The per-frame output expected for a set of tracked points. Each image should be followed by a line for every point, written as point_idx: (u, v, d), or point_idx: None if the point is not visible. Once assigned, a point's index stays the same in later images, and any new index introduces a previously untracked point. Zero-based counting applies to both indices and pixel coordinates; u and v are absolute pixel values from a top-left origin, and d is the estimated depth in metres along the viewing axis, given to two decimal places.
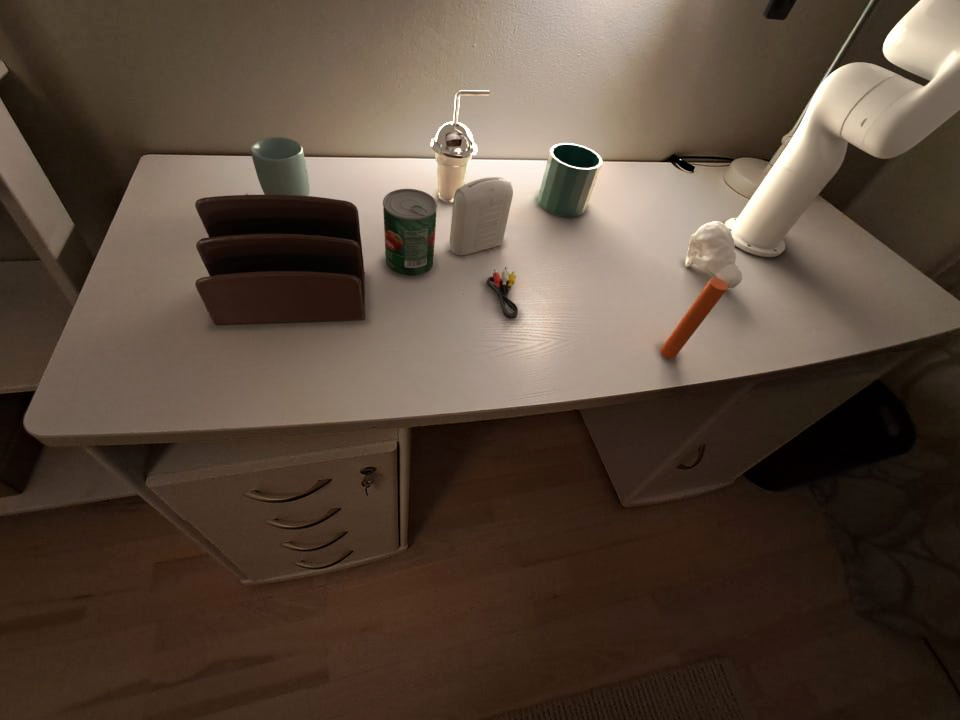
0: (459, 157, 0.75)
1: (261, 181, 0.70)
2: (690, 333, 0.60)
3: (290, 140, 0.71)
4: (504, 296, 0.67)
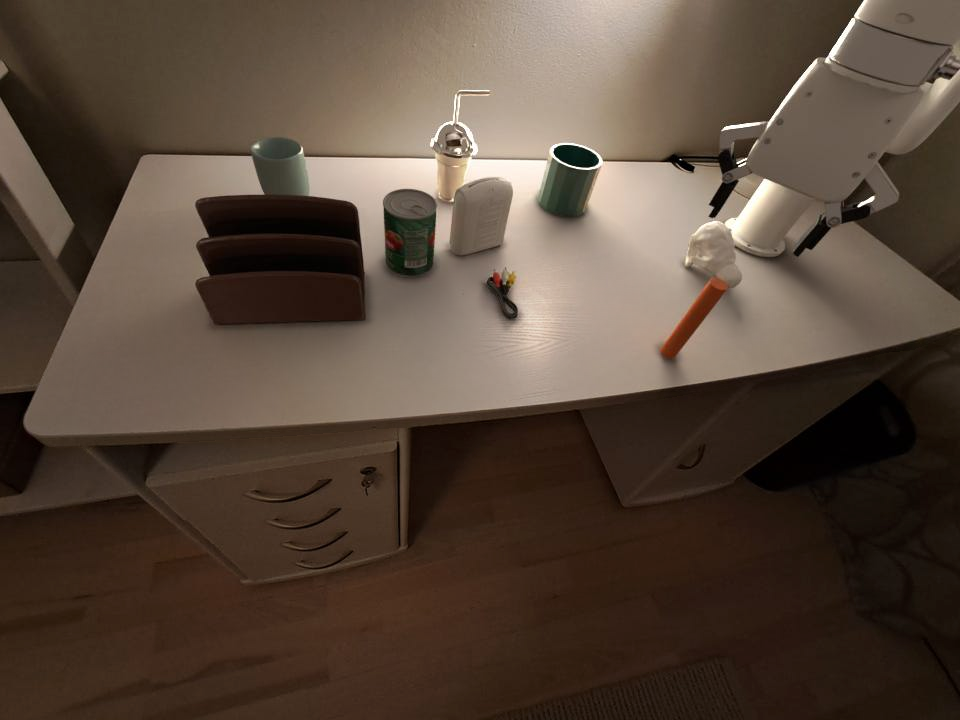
0: (459, 157, 0.75)
1: (261, 181, 0.70)
2: (690, 333, 0.60)
3: (290, 140, 0.71)
4: (504, 296, 0.67)
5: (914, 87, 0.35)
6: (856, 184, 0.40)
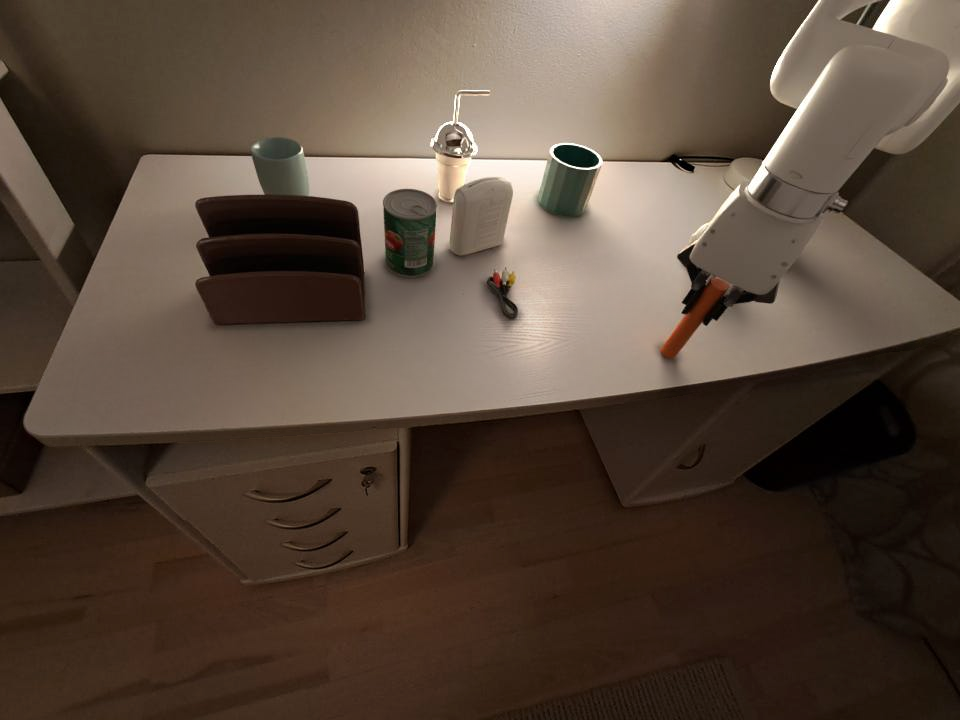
0: (459, 157, 0.75)
1: (261, 181, 0.70)
2: (690, 333, 0.60)
3: (290, 140, 0.71)
4: (504, 296, 0.67)
5: (810, 219, 0.44)
6: (774, 283, 0.49)
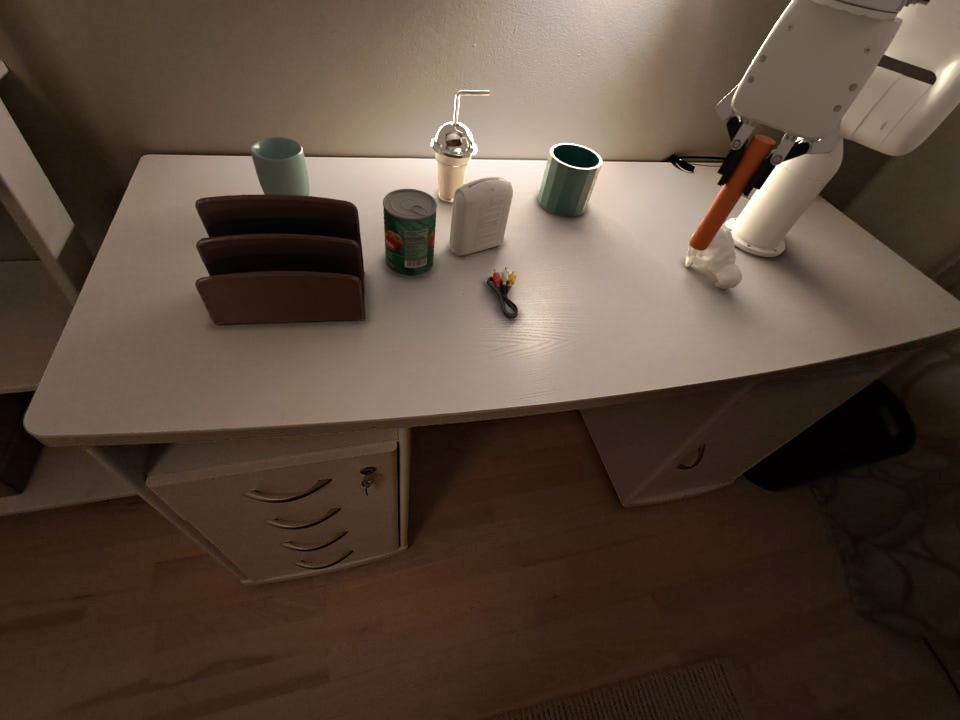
0: (459, 157, 0.75)
1: (261, 181, 0.70)
2: (726, 212, 0.52)
3: (290, 140, 0.71)
4: (504, 296, 0.67)
5: (892, 14, 0.35)
6: (838, 118, 0.41)
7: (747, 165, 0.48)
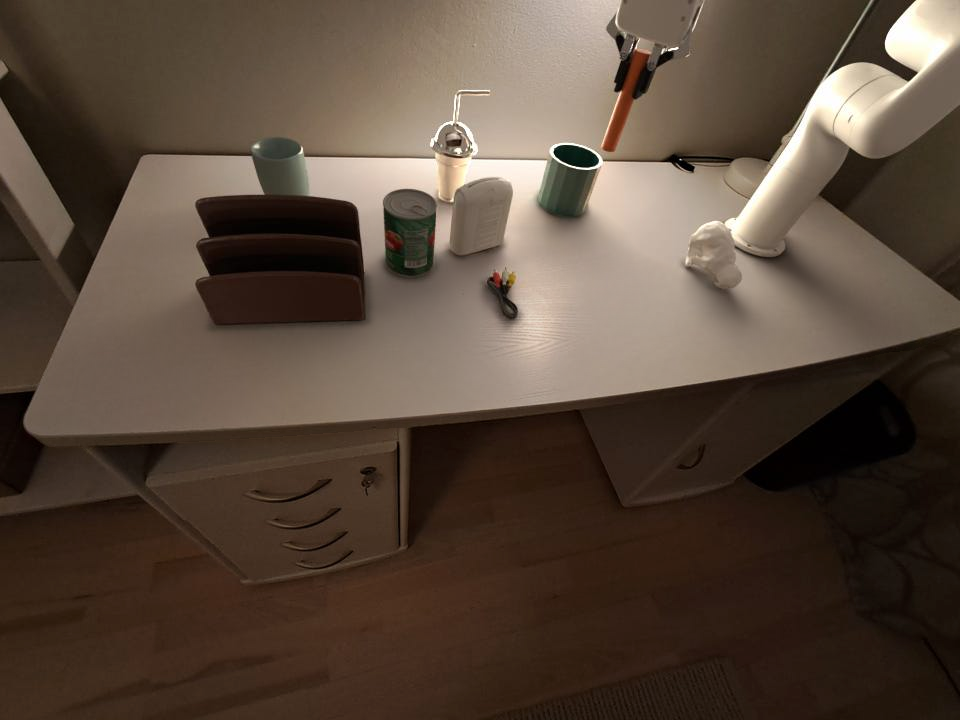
0: (459, 157, 0.75)
1: (261, 181, 0.70)
2: (623, 115, 0.67)
3: (290, 140, 0.71)
4: (504, 296, 0.67)
5: None
6: (685, 27, 0.56)
7: (632, 73, 0.63)
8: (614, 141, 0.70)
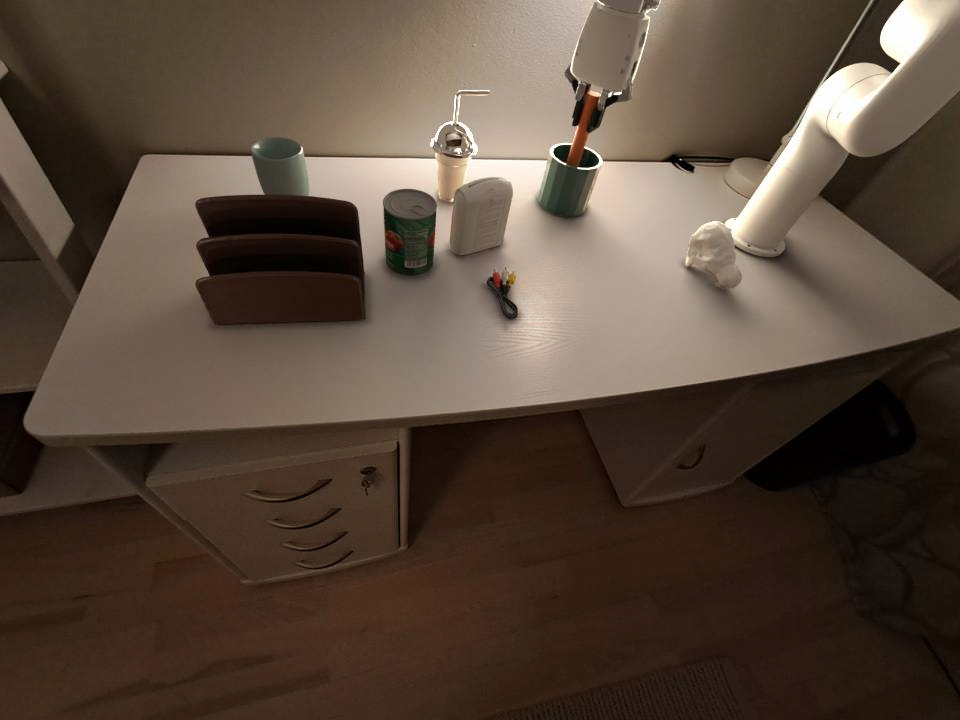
0: (459, 157, 0.75)
1: (261, 181, 0.70)
2: (581, 145, 0.79)
3: (290, 140, 0.71)
4: (504, 296, 0.67)
5: (637, 14, 0.62)
6: (624, 77, 0.68)
7: (586, 111, 0.75)
8: (574, 166, 0.82)
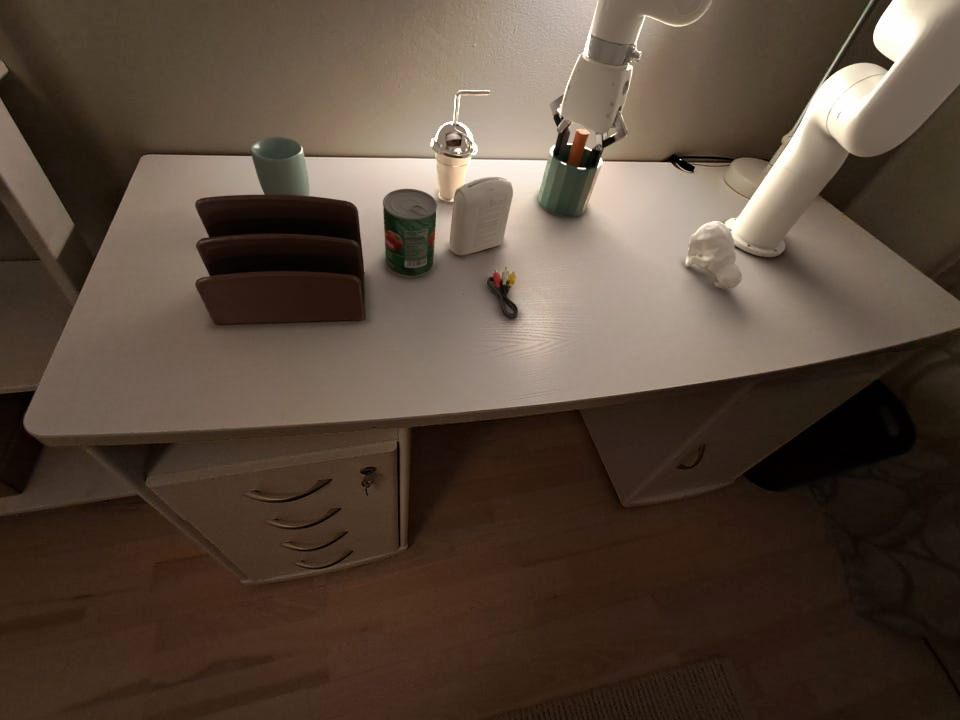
0: (459, 157, 0.75)
1: (261, 181, 0.70)
2: None
3: (290, 140, 0.71)
4: (504, 296, 0.67)
5: (620, 66, 0.67)
6: (610, 121, 0.73)
7: (575, 147, 0.79)
8: None
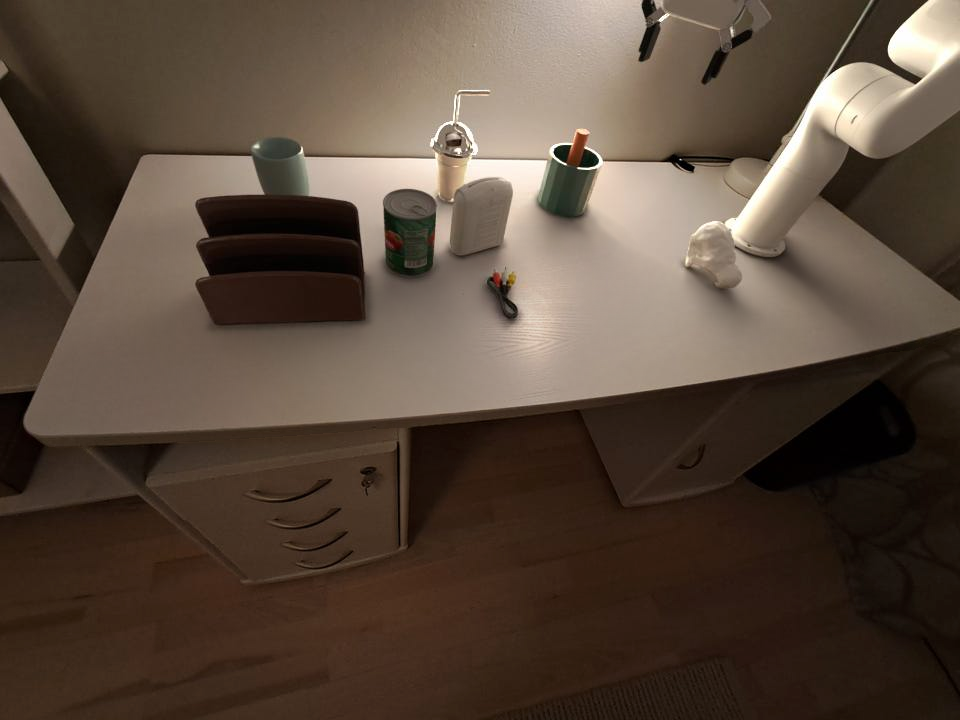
0: (459, 157, 0.75)
1: (261, 181, 0.70)
2: None
3: (290, 140, 0.71)
4: (504, 296, 0.67)
5: None
6: (737, 8, 0.53)
7: (575, 147, 0.79)
8: None
